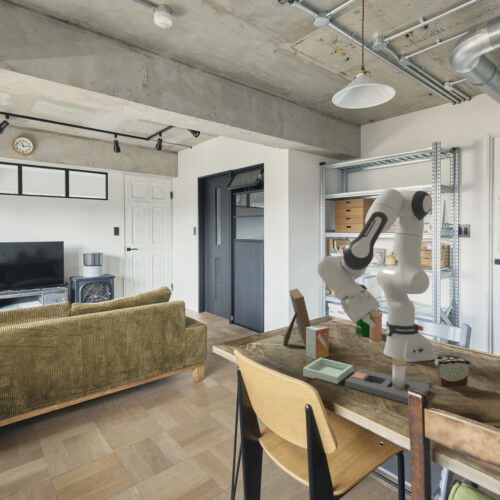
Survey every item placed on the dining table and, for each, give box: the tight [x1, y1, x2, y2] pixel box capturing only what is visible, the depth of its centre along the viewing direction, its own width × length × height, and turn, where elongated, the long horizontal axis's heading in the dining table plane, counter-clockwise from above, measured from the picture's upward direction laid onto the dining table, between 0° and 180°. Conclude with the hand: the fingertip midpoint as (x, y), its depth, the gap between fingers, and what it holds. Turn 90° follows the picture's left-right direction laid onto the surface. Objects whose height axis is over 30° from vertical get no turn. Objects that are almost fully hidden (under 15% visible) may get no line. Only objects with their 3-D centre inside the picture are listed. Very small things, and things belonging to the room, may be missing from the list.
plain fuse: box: [391, 357, 407, 391], centre depth 120 cm, size 4×4×11 cm
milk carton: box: [355, 315, 370, 337], centre depth 187 cm, size 9×9×20 cm
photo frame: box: [282, 288, 312, 348], centre depth 175 cm, size 15×22×25 cm
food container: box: [434, 353, 472, 388], centre depth 126 cm, size 12×6×10 cm, turn 92°
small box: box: [305, 324, 330, 361], centre depth 156 cm, size 8×6×13 cm
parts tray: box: [302, 357, 354, 385], centre depth 136 cm, size 14×14×3 cm
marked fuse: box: [368, 310, 383, 346], centre depth 124 cm, size 4×4×11 cm
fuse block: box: [344, 368, 430, 405], centre depth 122 cm, size 24×14×3 cm, turn 51°
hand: (377, 324), depth 123 cm, fingers closed on marked fuse, 4 cm apart
